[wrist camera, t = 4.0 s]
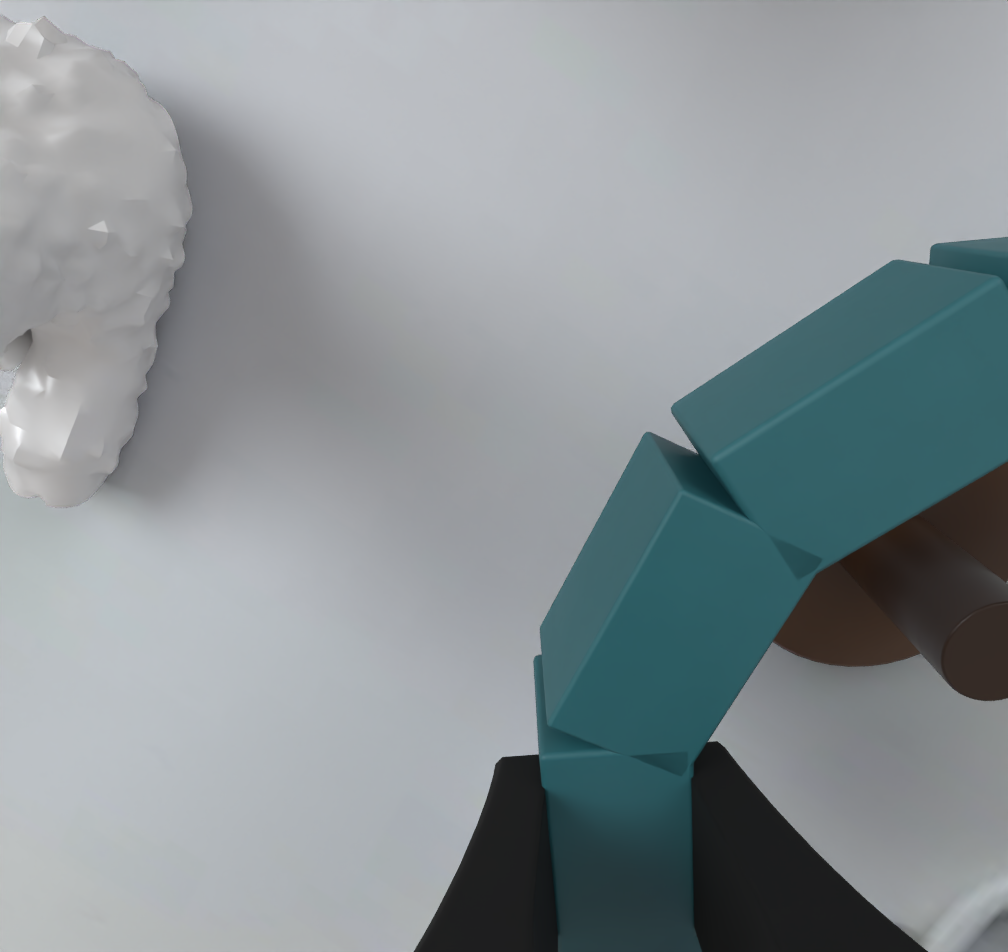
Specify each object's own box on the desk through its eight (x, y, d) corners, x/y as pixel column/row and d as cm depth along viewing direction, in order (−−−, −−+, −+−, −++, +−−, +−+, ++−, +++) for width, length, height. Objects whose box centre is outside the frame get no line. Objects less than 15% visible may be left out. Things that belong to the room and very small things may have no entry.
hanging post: (989, 635, 21) (1170, 800, 15) (716, 657, 21) (792, 828, 15) (1021, 367, 19) (1247, 443, 13) (713, 395, 19) (802, 482, 13)
